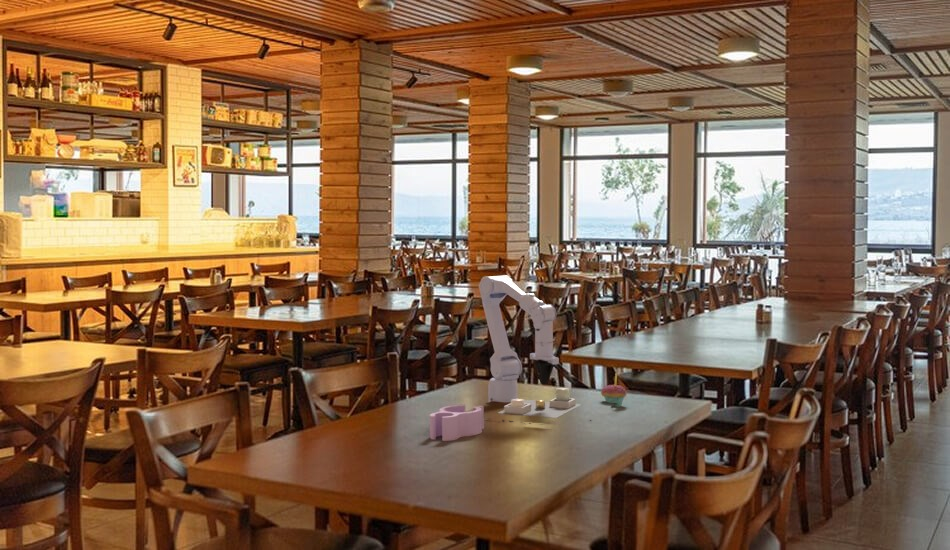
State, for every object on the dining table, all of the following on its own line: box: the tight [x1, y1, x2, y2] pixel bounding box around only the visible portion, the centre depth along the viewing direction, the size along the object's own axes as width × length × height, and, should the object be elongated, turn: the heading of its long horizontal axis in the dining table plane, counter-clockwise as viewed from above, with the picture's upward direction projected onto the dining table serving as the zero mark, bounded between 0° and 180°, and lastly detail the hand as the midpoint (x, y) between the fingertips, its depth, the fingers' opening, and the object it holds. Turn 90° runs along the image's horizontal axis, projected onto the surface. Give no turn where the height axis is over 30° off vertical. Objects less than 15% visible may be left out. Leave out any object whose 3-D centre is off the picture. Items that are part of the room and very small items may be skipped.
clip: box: [429, 403, 485, 442], centre depth 293 cm, size 20×12×7 cm, turn 149°
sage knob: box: [555, 387, 570, 401], centre depth 325 cm, size 4×4×4 cm
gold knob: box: [535, 399, 546, 409], centre depth 321 cm, size 3×3×2 cm
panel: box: [497, 397, 582, 419], centre depth 321 cm, size 20×24×4 cm
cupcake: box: [600, 370, 627, 408], centre depth 332 cm, size 9×8×12 cm
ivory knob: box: [510, 398, 526, 407], centre depth 317 cm, size 4×4×4 cm
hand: (544, 383), depth 322 cm, fingers closed
